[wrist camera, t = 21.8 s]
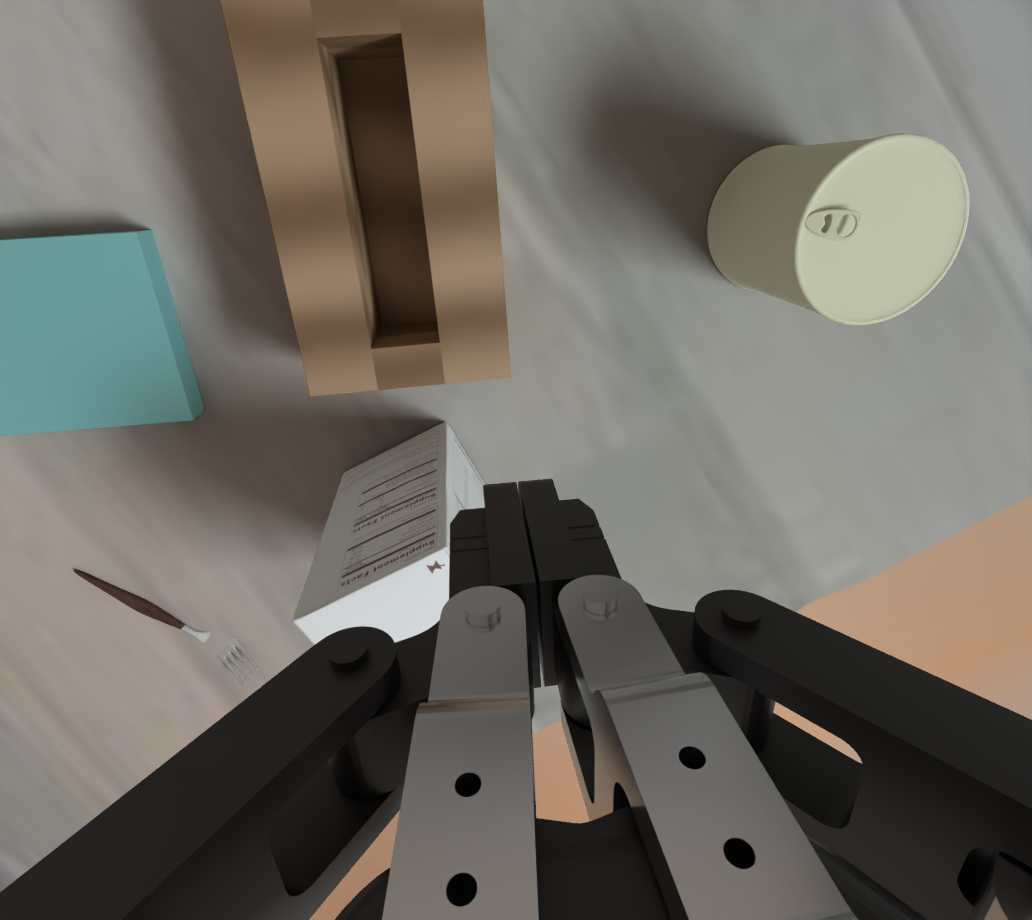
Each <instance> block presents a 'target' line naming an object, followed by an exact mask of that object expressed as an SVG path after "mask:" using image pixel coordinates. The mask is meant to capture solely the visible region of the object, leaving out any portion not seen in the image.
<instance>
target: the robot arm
mask: <svg viewBox="0 0 1032 920" xmlns="http://www.w3.org/2000/svg"><path fill="white" fill-rule="evenodd" d="M518 491H519V494H518ZM483 493H484V504H485V508H475V509H464V510H460V511H459V512H458V513H457V515H456V516H455V518H454V519H453V520H452V522H451V523H450V560H449V600H448V601H447V603H446V604H445V605H444V607H443V609H442V611H441V615H440V620H439V621H438V622H437V623H436V624H435V625H433V626H432V627H431V628H429V629H428V630H426V631H424V632H422V633H420V634H418V635H415V636H413V637H410V638H407V639H404V640H401V641H398V642H394V640H393V639H392V637H391V636H390V635H389V634H388V633H386V632H385V631H383V630H381V629H378V628H374V627H367V626H359V627H351V628H346V629H343V630H339V631H337V632H335V633H332V634H330V635H328V636H327V637H325V638H323V639H322V640H321V641H319V642H318V643H317V644H315V645H314V646H313V647H311V648H310V649H309V650H308V651H306V652H305V653H304V654H303V655H301V656H300V657H299V658H297V659H296V660H295V661H294V662H292V663H291V664H290V665H289V666H287V667H286V668H285V669H284V670H282V671H281V672H280V673H278V674H277V675H276V676H275V677H273V678H272V679H271V680H270V681H268V682H267V683H266V684H264V685H263V686H262V687H261V688H259V689H258V690H257V691H256V692H254V693H253V694H252V695H250V696H249V697H248V698H247V699H245V700H244V701H243V702H242V703H240V704H239V705H238V706H236V707H235V708H234V709H233V710H231V711H230V712H229V713H228V714H226V715H225V716H224V717H223V718H221V719H220V720H219V721H217V722H216V723H215V724H214V725H212V726H211V727H210V728H209V729H207V730H206V731H205V732H203V733H202V734H201V735H200V736H198V737H197V738H196V739H195V740H193V741H192V742H191V743H189V744H188V745H187V746H186V747H184V748H183V749H182V750H181V751H179V752H178V753H177V754H175V755H174V756H173V757H172V758H170V759H169V760H168V761H167V762H165V763H164V764H163V765H162V766H160V767H159V768H158V769H156V770H155V771H154V772H153V773H151V774H150V775H149V776H148V777H146V778H145V779H144V780H142V781H141V782H140V783H139V784H137V785H136V786H135V787H134V788H132V789H131V790H130V791H128V792H127V793H126V794H125V795H123V796H122V797H121V798H120V799H118V800H117V801H116V802H114V803H113V804H112V805H111V806H109V807H108V808H107V809H106V810H104V811H103V812H102V813H101V814H99V815H98V816H97V817H95V818H94V819H93V820H92V821H90V822H89V823H88V824H87V825H85V826H84V827H83V828H81V829H80V830H79V831H78V832H76V833H75V834H74V835H73V836H71V837H70V838H69V839H67V840H66V841H65V842H64V843H62V844H61V845H60V846H59V847H57V848H56V849H55V850H54V851H52V852H51V853H50V854H48V855H47V856H46V857H45V858H43V859H42V860H41V861H40V862H38V863H37V864H36V865H34V866H33V867H32V868H31V869H29V870H28V871H27V872H26V873H24V874H23V875H22V876H20V877H19V878H18V879H17V880H15V881H14V882H13V883H12V884H10V885H9V886H8V887H6V888H5V889H4V890H3V891H1V892H0V920H309V919H310V918H311V916H312V915H313V914H314V913H315V912H316V910H317V909H318V908H319V907H320V906H321V904H322V903H323V902H324V901H325V900H326V898H327V897H328V896H329V895H330V893H331V892H332V891H333V890H334V889H335V888H336V886H337V885H338V884H339V883H340V881H341V880H342V879H343V878H344V877H345V875H346V874H347V873H348V872H349V870H350V869H351V868H352V867H353V866H354V865H355V863H356V862H357V861H358V860H359V858H360V857H361V856H362V855H363V854H364V853H365V851H366V850H367V849H368V848H369V846H370V845H371V844H372V843H373V842H374V840H375V839H376V838H377V837H378V836H379V834H380V833H381V832H382V831H383V829H384V828H385V827H386V826H387V825H388V823H389V822H390V821H391V820H392V819H393V817H394V816H395V815H396V814H397V813H398V811H399V810H400V813H399V819H398V825H397V832H396V838H395V844H394V850H393V857H392V862H391V867H390V868H389V869H387V870H386V871H384V872H383V873H382V874H380V875H379V876H377V877H376V878H375V879H374V880H373V881H371V882H370V883H369V884H368V885H367V886H366V887H365V888H363V890H361V891H360V892H359V893H358V894H357V895H356V896H355V897H354V898H353V899H352V901H351V902H350V903H349V904H348V905H347V906H346V907H345V908H344V909H343V910H342V911H341V913H340V914H339V915H338V916H337V918H336V919H335V920H1032V720H1031V719H1028V718H1026V717H1024V716H1022V715H1020V714H1017V713H1015V712H1013V711H1011V710H1009V709H1007V708H1004V707H1002V706H1000V705H998V704H996V703H993V702H991V701H989V700H987V699H985V698H983V697H980V696H978V695H976V694H974V693H971V692H969V691H967V690H965V689H963V688H961V687H958V686H956V685H954V684H952V683H950V682H947V681H945V680H943V679H941V678H939V677H936V676H934V675H932V674H930V673H928V672H926V671H923V670H921V669H919V668H917V667H915V666H912V665H910V664H908V663H906V662H904V661H901V660H899V659H897V658H895V657H893V656H890V655H888V654H886V653H884V652H882V651H879V650H877V649H875V648H873V647H871V646H869V645H866V644H864V643H862V642H860V641H858V640H855V639H853V638H851V637H849V636H846V635H844V634H842V633H840V632H838V631H836V630H833V629H831V628H829V627H827V626H825V625H823V624H820V623H818V622H816V621H814V620H811V619H809V618H807V617H805V616H803V615H801V614H798V613H796V612H794V611H792V610H790V609H787V608H785V607H783V606H781V605H779V604H776V603H774V602H772V601H770V600H768V599H766V598H763V597H761V596H758V595H756V594H753V593H749V592H745V591H740V590H720V591H715V592H712V593H709V594H707V595H705V596H704V597H702V598H701V599H700V600H699V601H698V603H697V605H696V607H695V613H694V612H686V611H678V610H670V609H664V608H660V607H656V606H653V605H650V604H647V603H645V602H644V600H643V599H642V597H641V595H640V593H639V592H638V591H637V589H636V588H635V587H633V586H632V585H631V584H629V583H628V582H626V581H624V580H622V579H621V576H620V574H619V572H618V569H617V567H616V564H615V562H614V559H613V557H612V554H611V552H610V550H609V547H608V545H607V542H606V540H605V539H604V535H603V533H602V530H601V528H600V527H599V523H598V520H597V518H596V516H595V513H594V511H593V510H592V509H591V508H590V507H589V506H587V505H586V504H585V503H583V502H582V501H581V500H580V499H571V500H560V501H559V498H558V495H557V492H556V489H555V486H554V483H553V480H552V479H543V480H532V481H521V482H519V483H518V489H517V484H516V482H511V483H500V484H488V485H483ZM540 663H541V669H542V674H543V680H544V686H553V685H558V688H559V692H560V697H561V721H562V726H563V730H564V733H565V737H566V740H567V744H568V747H569V751H570V754H571V757H572V761H573V764H574V768H575V771H576V775H577V778H578V782H579V785H580V789H581V792H582V796H583V799H584V803H585V806H586V809H587V813H588V817H589V821H590V822H586V823H581V824H579V823H569V822H561V821H553V820H545V819H538V818H536V799H535V779H534V759H533V738H532V718H533V715H534V710H535V707H534V688H537V687H541V678H540ZM775 701H776V702H777V703H779V704H781V705H783V706H784V707H786V708H788V709H790V710H791V711H793V712H795V713H797V714H798V715H800V716H802V717H804V718H805V719H807V720H809V721H811V722H812V723H814V724H816V725H818V726H820V727H821V728H823V729H825V730H827V731H828V732H830V733H832V734H834V735H835V736H837V737H839V738H841V739H842V740H844V741H845V742H846V743H848V744H849V745H850V746H851V747H852V748H853V749H854V750H855V751H856V752H857V754H858V755H859V757H860V758H861V761H862V763H863V764H861V763H859V762H857V761H855V760H853V759H852V758H850V757H848V756H846V755H845V754H843V753H841V752H840V751H838V750H836V749H834V748H833V747H831V746H829V745H828V744H826V743H824V742H822V741H821V740H819V739H817V738H816V737H814V736H812V735H810V734H809V733H807V732H805V731H804V730H802V729H800V728H798V727H797V726H795V725H793V724H792V723H790V722H788V721H786V720H785V719H783V718H781V717H780V716H778V715H776V714H774V713H773V711H774V706H775Z"/></svg>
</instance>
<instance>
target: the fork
mask: <svg viewBox="0 0 1032 920" xmlns="http://www.w3.org/2000/svg"><path fill="white" fill-rule="evenodd" d="M74 572H75V573H76V574H78V575H79V576H81V577H82V578H84V579H85V580H87V581H88V582H90V583H92V584H93V585H95V586H96V587H98V588H100V589H101V590H103V591H105V592H106V593H108V594H110V595H111V596H113V597H115V598H116V599H118V600H119V601H121V602H123V603H124V604H126V605H127V606H129V607H131V608H132V609H134V610H136V611H138V612H140V613H142V614H144V615H146V616H149V617H151V618H154V619H156V620H159V621H161V622H164V623H166V624H169V625H171V626H174V627H176V628H179V629H181V630H184V631H186V632H188V633H190V634H192V635H194V636H195V637H196V638H198V639H199V640H200V641H201V642H202V643H203V642H205V641H206V640H207V639H208V637H209V636H210V633H209V632H203V631H197V630H194V629H192V628H190V627H189V626H187V625H185V624H184V623H182V622H181V621H179V620H178V619H176V618H175V617H173V616H172V615H170V614H169V613H167V612H166V611H164V610H163V609H161V608H159V607H158V606H156V605H155V604H153V603H151V602H149V601H147V600H145V599H143V598H141V597H139V596H137V595H134V594H132V593H130V592H127V591H125V590H123V589H120V588H118V587H116V586H114V585H111V584H109V583H107V582H105V581H103V580H100V579H98V578H96V577H94V576H92V575H89V574H87V573H85V572H82V571H79V570H75V571H74ZM235 647H237V648H239V649H240V651H241V652H242V653H243V654H244V655H245V656H246V657H247V659H248V660H249V661H250V662H251V664H252V665H253V666H254V668H255V669H256V670H258V668H257V667H256V665H255V664H254V662H253V661H252V659H251V658H250V656H249V655H248V654H247V652H246V651H245V650H244V648H243V647H242V646H241V645H240V643H239V642H238V641H237V640H236V639H232V640H231V641H230V642H229V643H228V644H227V645H226V646H225V647H224V648H223V649H222V650H221V651H220V652H219V653H218V654H217V657H218V658H219V659H220V660H222V661H223V662H224V663H225V664H226V666H227V667H228V668H229V669H230V670H231V671H232V673H233V674H234V675H235V676H236V678H237V679H238V680H239V681H240V683H241V684H242V685H244V683H243V682H242V680H241V679H240V677H239V676H238V674H237V673H236V672H235V670H234V669H233V667H232V666H231V665H230V663H229V662H228V661H227V659H226V657H228V658H229V659H230V660H231V661H232V662H233V663H234V664H235V666H236V667H237V668H238V669H239V670H240V672H241V673H242V674H243V676H244V677H245V678H246V680H248V677H247V676H246V674H245V673H244V671H243V670H242V668H241V667H240V666H239V664H238V663H237V661H236V660H235V659H234V657H233V656H232V655H231V652H233V653H234V654H235V655H236V656H237V657H238V659H239V660H240V661H241V662H242V663H243V665H244V666H245V667H246V668H247V670H248V671H249V672H250V674H251V675H253V673H252V671H251V670H250V668H249V667H248V665H247V664H246V662H245V661H244V660H243V658H242V657H241V656H240V654H239V653H238V652H237V650H236V648H235Z"/></svg>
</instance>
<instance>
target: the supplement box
mask: <svg viewBox="0 0 1032 920" xmlns="http://www.w3.org/2000/svg"><path fill="white" fill-rule="evenodd" d="M483 485H485V484H484V482H483V481H482V479H481V478H480V476H479V474H478V473H477V471H476V469H475V468H474V466H473V465H472V463H471V461H470V460H469V458H468V456H467V455H466V453H465V451H464V450H463V448H462V446H461V445H460V443H459V441H458V440H457V438H456V436H455V435H454V433H453V431H452V430H451V428H450V427H449V425H448V424H447V423H446V422H444V423H441V424H439V425H437V426H435V427H433V428H431V429H429V430H427V431H425V432H423V433H421V434H419V435H417V436H415V437H413V438H411V439H409V440H407V441H406V442H404V443H402V444H400V445H398V446H396V447H394V448H392V449H390V450H388V451H386V452H384V453H382V454H380V455H378V456H376V457H374V458H372V459H370V460H368V461H366V462H364V463H362V464H360V465H358V466H356V467H354V468H352V469H350V470H348V471H346V472H344V473H343V476H342V478H341V481H340V484H339V487H338V490H337V493H336V496H335V499H334V502H333V505H332V508H331V511H330V514H329V516H328V519H327V522H326V525H325V528H324V531H323V534H322V537H321V540H320V542H319V545H318V548H317V551H316V554H315V557H314V560H313V563H312V566H311V569H310V571H309V574H308V577H307V580H306V583H305V586H304V589H303V591H302V594H301V597H300V600H299V603H298V606H297V608H296V611H295V614H294V617H293V622H294V623H295V624H296V625H297V627H298V628H299V629H300V630H301V631H302V632H303V633H304V634H305V635H306V636H307V637H308V639H309V640H310V641H311V642H312V643H313V644H314V645H315V644H317V643H318V642H319V641H321V640H322V639H323V638H325V637H327V636H328V635H330V634H332V633H335V632H337V631H339V630H343V629H346V628H351V627H359V626H367V627H374V628H378V629H381V630H383V631H385V632H386V633H388V634H389V635H390V636H391V637H392V639H393V640H394V642H398V641H401V640H404V639H407V638H410V637H413V636H415V635H418V634H420V633H422V632H424V631H426V630H428V629H429V628H431V627H432V626H433V625H435V624H436V623H437V622H438V621H439V620H440V615H441V611H442V609H443V607H444V605H445V604H446V603H447V601H448V600H449V560H450V523H451V522H452V520H453V519H454V518H455V516H456V515H457V513H458V512H459V511H460V510H464V509H475V508H485V504H484V493H483Z"/></svg>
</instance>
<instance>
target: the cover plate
mask: <svg viewBox="0 0 1032 920" xmlns="http://www.w3.org/2000/svg"><path fill="white" fill-rule="evenodd" d="M204 410H205V409H204V406H203V402H202V399H201V396H200V392H199V389H198V385H197V382H196V379H195V375H194V372H193V368H192V365H191V361H190V358H189V355H188V351H187V348H186V344H185V341H184V338H183V334H182V331H181V327H180V324H179V321H178V317H177V314H176V310H175V307H174V304H173V300H172V297H171V293H170V290H169V287H168V283H167V280H166V276H165V273H164V270H163V266H162V263H161V259H160V256H159V253H158V249H157V246H156V242H155V239H154V236H153V232H152V230H139V231H123V232H107V233H91V234H74V235H58V236H42V237H26V238H10V239H0V436H7V435H19V434H31V433H44V432H56V431H69V430H81V429H93V428H106V427H118V426H131V425H143V424H155V423H168V422H180V421H193V420H194V419H196V418H197V417H198V416H199V415H200V414H201V413H202V412H203V411H204Z"/></svg>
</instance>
